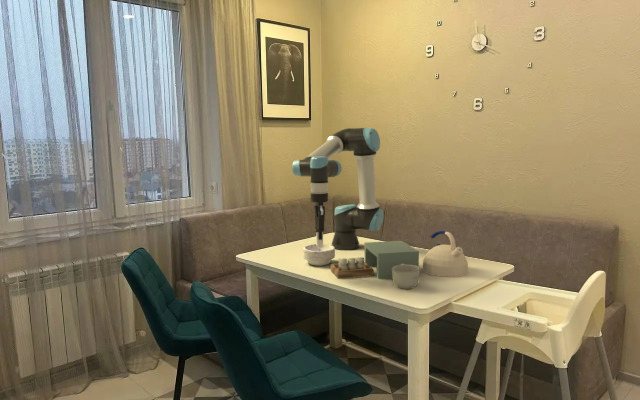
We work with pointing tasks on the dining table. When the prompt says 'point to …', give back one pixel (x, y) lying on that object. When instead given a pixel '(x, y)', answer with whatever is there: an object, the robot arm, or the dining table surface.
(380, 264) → the sage green box
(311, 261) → the paper bowls
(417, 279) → the teacup
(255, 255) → the dining table surface
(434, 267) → the kettle
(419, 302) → the dining table surface
